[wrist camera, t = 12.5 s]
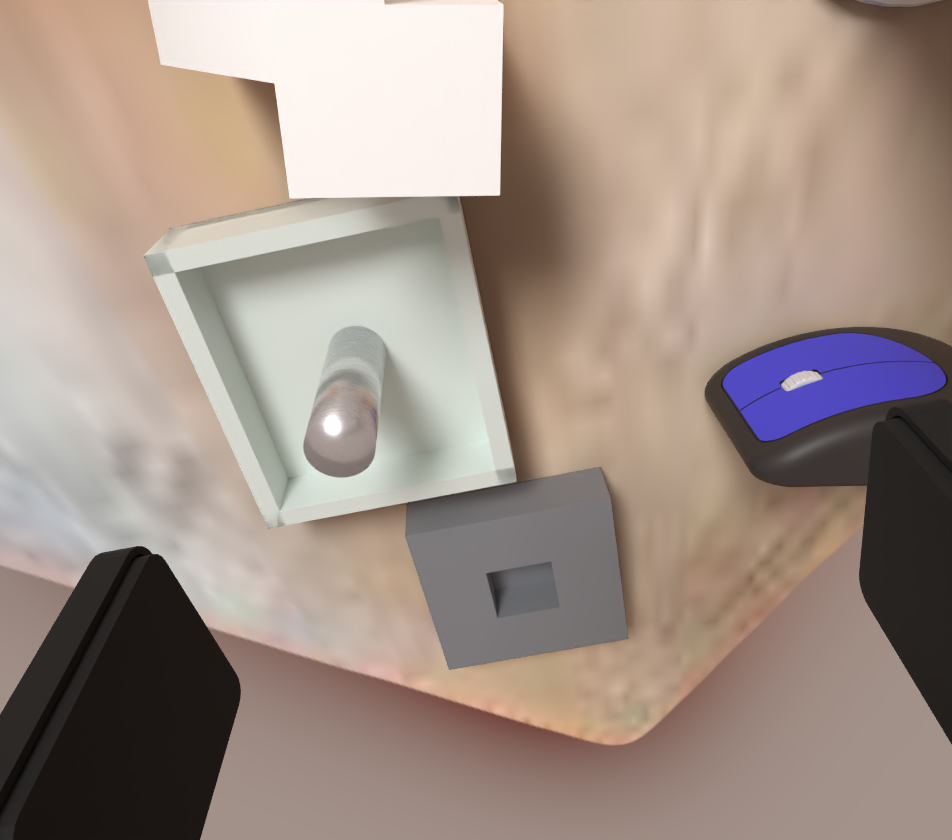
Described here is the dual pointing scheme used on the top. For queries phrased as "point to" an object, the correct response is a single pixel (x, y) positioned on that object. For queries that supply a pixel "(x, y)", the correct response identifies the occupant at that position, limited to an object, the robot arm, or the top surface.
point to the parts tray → (308, 336)
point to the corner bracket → (361, 86)
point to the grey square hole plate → (519, 568)
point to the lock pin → (347, 404)
